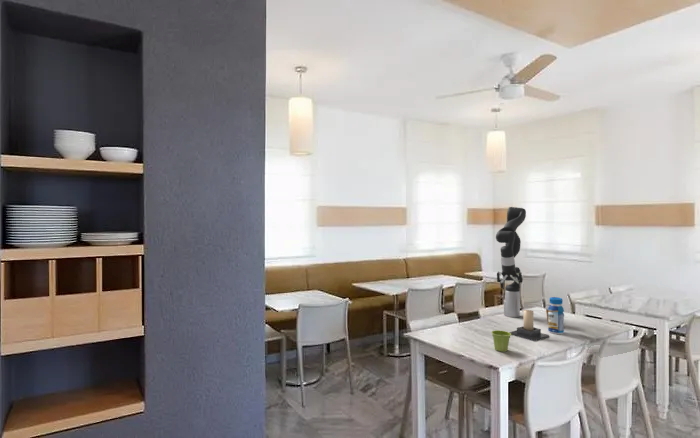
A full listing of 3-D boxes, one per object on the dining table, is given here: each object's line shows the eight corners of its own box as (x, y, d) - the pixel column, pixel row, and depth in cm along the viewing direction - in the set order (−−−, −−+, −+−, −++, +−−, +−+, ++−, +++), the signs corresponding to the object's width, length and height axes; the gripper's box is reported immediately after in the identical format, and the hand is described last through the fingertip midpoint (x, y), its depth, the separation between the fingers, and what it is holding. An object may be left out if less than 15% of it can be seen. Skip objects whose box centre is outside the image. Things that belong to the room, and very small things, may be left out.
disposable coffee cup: (565, 327, 245) (565, 307, 245) (549, 327, 245) (549, 307, 245) (557, 323, 255) (557, 304, 255) (542, 323, 255) (542, 304, 255)
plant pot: (506, 346, 210) (506, 330, 210) (514, 352, 200) (514, 335, 200) (488, 347, 210) (488, 330, 210) (495, 353, 200) (495, 335, 200)
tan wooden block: (521, 333, 230) (521, 310, 230) (527, 331, 233) (527, 309, 233) (529, 335, 226) (529, 312, 226) (535, 334, 229) (535, 311, 228)
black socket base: (508, 334, 232) (508, 327, 232) (523, 330, 240) (523, 323, 240) (534, 341, 219) (534, 333, 219) (549, 337, 226) (549, 329, 226)
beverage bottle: (566, 334, 230) (566, 299, 230) (550, 334, 232) (550, 299, 232) (561, 330, 239) (561, 297, 239) (546, 329, 240) (546, 296, 240)
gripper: (521, 261, 241) (523, 286, 244) (496, 261, 248) (499, 285, 251) (520, 265, 235) (522, 291, 238) (494, 265, 242) (497, 290, 245)
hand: (510, 288), depth 245 cm, fingers open, 8 cm apart
